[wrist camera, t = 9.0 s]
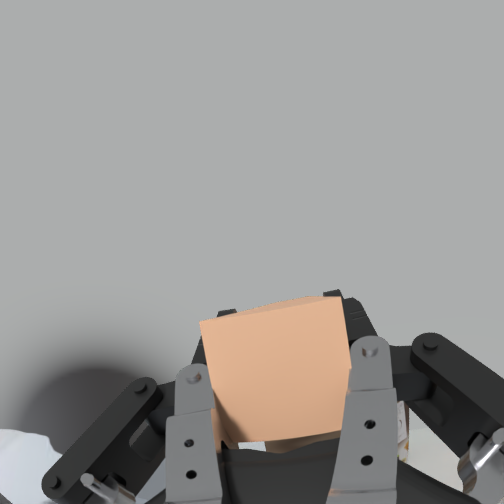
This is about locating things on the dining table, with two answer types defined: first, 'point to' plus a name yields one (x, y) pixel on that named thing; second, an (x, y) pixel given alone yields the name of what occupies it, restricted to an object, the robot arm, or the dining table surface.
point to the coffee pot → (4, 500)
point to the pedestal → (153, 485)
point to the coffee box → (403, 430)
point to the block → (279, 368)
